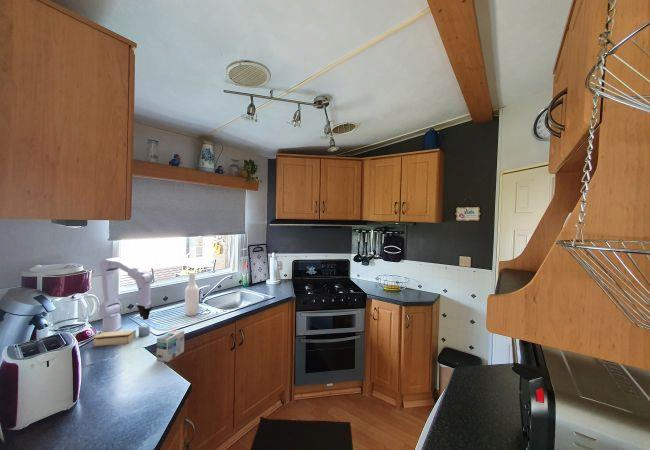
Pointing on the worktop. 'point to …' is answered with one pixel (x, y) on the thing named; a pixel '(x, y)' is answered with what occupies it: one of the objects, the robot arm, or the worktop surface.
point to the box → (114, 340)
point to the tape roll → (144, 330)
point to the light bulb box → (170, 345)
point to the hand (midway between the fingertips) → (144, 317)
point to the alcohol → (191, 296)
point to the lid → (114, 333)
